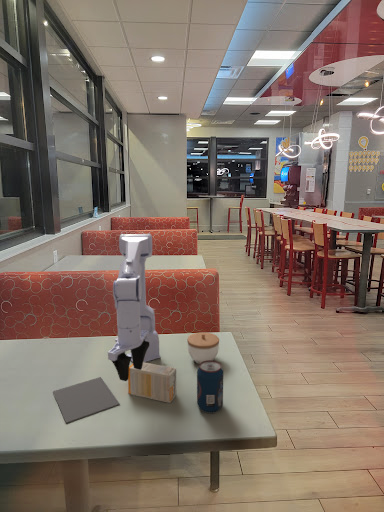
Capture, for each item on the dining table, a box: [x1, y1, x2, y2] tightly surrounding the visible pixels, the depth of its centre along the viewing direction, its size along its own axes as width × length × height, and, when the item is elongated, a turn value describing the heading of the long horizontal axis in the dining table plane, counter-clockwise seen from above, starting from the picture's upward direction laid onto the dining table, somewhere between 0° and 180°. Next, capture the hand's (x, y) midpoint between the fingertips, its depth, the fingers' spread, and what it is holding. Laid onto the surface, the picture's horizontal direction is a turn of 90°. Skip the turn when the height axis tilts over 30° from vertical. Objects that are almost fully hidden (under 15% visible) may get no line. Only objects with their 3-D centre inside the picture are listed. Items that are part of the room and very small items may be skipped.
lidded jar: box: [186, 331, 220, 365], centre depth 116 cm, size 11×11×9 cm
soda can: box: [196, 359, 224, 414], centre depth 91 cm, size 7×7×12 cm
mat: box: [52, 376, 121, 424], centre depth 95 cm, size 14×16×1 cm
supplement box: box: [127, 362, 177, 404], centre depth 97 cm, size 8×5×13 cm
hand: (131, 373), depth 88 cm, fingers open, 5 cm apart
